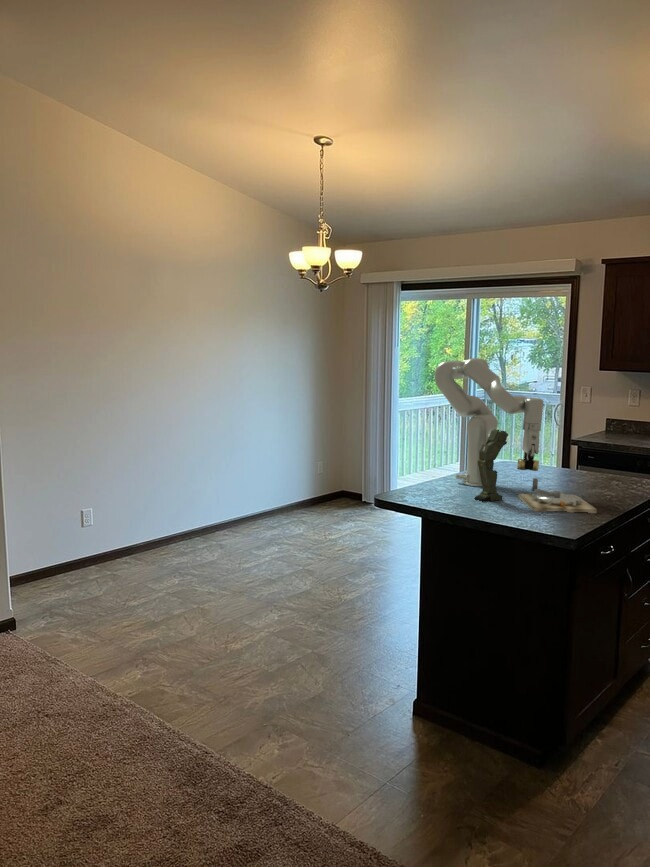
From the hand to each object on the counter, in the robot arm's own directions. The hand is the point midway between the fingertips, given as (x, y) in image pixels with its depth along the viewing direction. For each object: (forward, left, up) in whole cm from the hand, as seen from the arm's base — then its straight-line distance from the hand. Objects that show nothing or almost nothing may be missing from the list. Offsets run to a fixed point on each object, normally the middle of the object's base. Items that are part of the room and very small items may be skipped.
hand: (527, 468), depth 295 cm
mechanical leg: (-19, -18, -10) cm, 29 cm away
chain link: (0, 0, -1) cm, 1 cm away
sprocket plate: (+6, -24, -10) cm, 27 cm away
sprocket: (+5, -24, -8) cm, 26 cm away
